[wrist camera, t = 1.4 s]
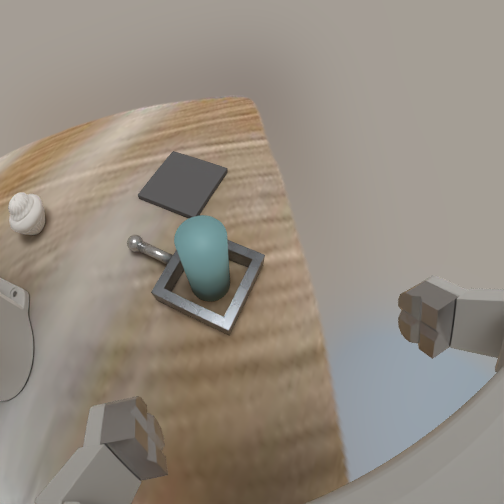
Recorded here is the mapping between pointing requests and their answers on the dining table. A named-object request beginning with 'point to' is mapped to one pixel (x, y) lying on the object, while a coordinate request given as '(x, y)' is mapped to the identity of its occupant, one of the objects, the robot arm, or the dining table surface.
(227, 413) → the dining table surface
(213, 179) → the rubber mat
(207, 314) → the socket
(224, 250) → the teal peg
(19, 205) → the muffin
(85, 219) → the dining table surface
